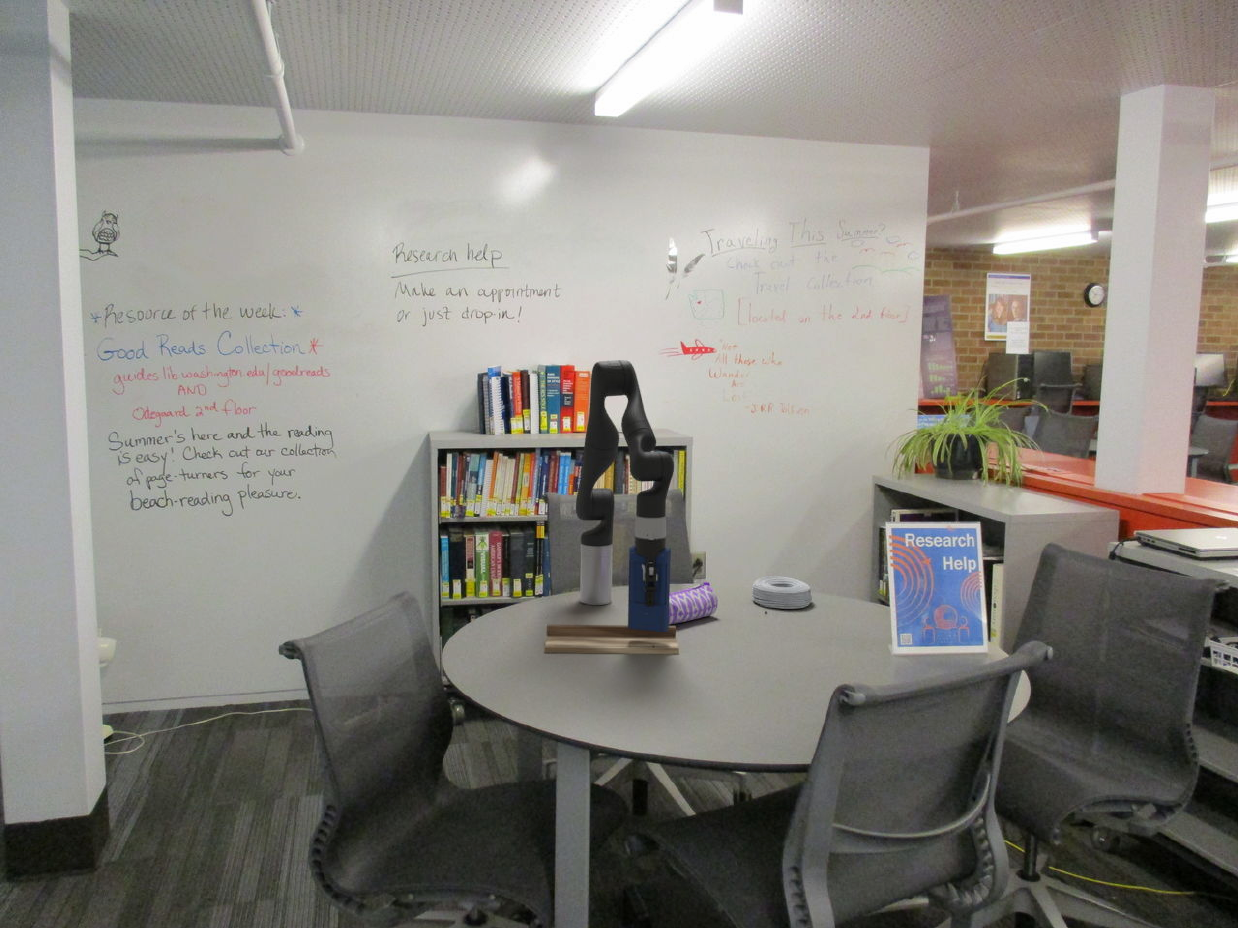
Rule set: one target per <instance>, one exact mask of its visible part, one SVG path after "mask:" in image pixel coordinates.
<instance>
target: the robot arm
mask: <svg viewBox="0 0 1238 928" xmlns="http://www.w3.org/2000/svg"><path fill="white" fill-rule="evenodd" d="M589 390H590V391H589V408H588V409H589V411H588V419H587V420H588V421H587V426H586V433H585V439H584V445H583V458H582V469H581V475H580V480H579V485H578V489H577V493H576V499H575V512H576V516H577V518H578V519H579V520H580V521H588V522H589V521H600V522H599V523H598V524H597V525H596V526H595V527H593V528H591V529H589V530H586V531H584V532H582V533H581V536H580V578H579V579H580V590H579V591H580V592H579V593H580V595H579V596H580V597H579V600H580V603H582V604H585V605H589V606H603V605H608V604H610V603H612V600H613V599H612V598H613V596H612V595H613V593H612V592H613V550H614V548H613V539H614V518H615V507H616V505H615V503H616V501H615V494H614V492H613V490H612V489H611V488H607V487H606V488H604V487H603V488H595V485H596V483H597V481H598V480H599V479H600V478H601V477H602V476H603V475H604V474H605V473H606V472H607V471H608V469H609V468H610V467H611V466H612V465H613V464H614V462H615V460H616V458H617V456H618V450H619V444H620V443H619V442H620V433H619V430H618V428H617V426H616V425H615V423H614V421H613V420H612V418H611V417H610V416H609V414H608V411H607V409H606V403H605V401H606V398H607V397H618V396H620V397H621V396H626V399H627V403H626V406H625V409H624V412H623V414H622V417H621V423H620V427H621V433H622V435H623V438H624V440H625V442H626V445H627V448H628V455H629V456H628V457H629V473H630V475H631V476H632V478H633V479H634V480H636V482H654V483H653V485H652V486H651V487H650V488H648V489H645V490H642V491H640V492H638V493H637V496H636V507H635V509H636V515H635V516H636V517H635V524H634V546H635V550H636V553H637V554H638V555H640V556H645V557H646V568H645V566H644V565H643V564H642V569H643V581H644V582H645V588H644V590H645V606H646V607H653V606H654V601H655V591H656V581H657V574H656V570H657V568H656V567H655V557H656V556H659V553H660V552H661V551H663V550H665V549H666V548H667V521H666V515H667V514H666V509H667V505H666V502H667V497H668V492H669V489H670V485H671V482H672V479H673V475H674V473H675V472H674V471H675V462H674V458H673V456H672V455H671V454H670V453H669V452H667V451H654V450H655V448H656V445H657V439H656V436H655V433H654V432H653V429H652V426H651V424H650V422H649V420H648V417H647V415H646V411H645V407H644V403H643V398H642V393H641V388H640V384H639V380H638V377H637V373H636V370H635V367H634V365H633V364H632V363H631V362H630V361H628V360H624V359H622V360H621V359H620V360H602V361H600V360H599V361H596V362H595V363H594V364H593V367H592V369H591V374H590V388H589ZM645 570H646V577H645ZM648 582H653V586H648Z"/></svg>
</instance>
